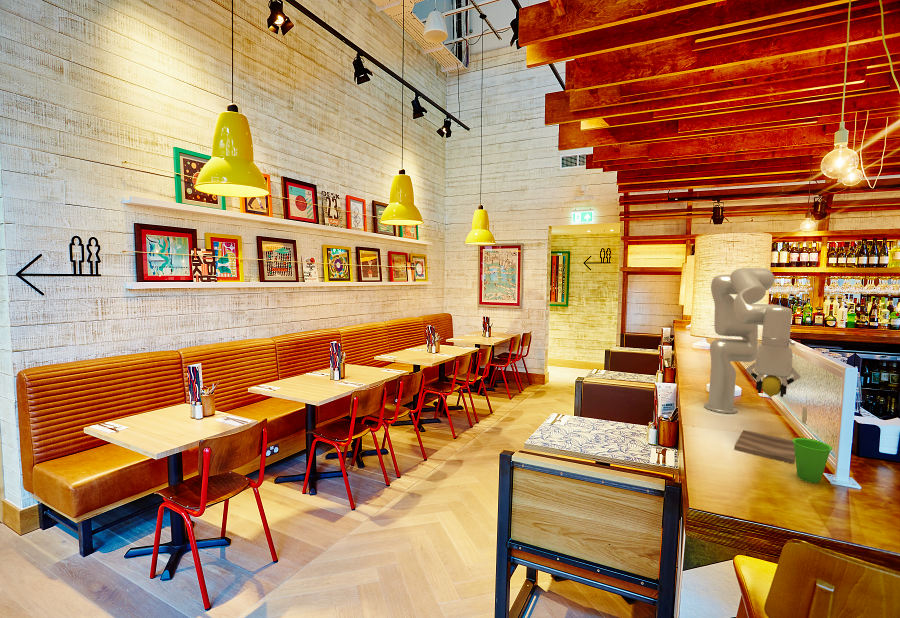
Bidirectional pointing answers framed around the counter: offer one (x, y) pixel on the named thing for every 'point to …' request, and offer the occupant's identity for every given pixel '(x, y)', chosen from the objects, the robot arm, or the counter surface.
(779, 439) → the serving board
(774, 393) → the lemon
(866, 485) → the counter surface
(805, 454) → the cup
